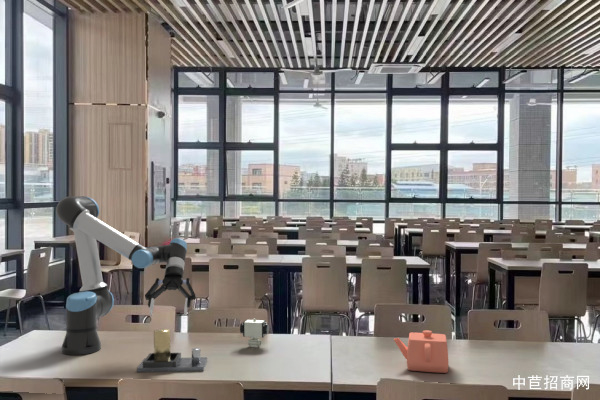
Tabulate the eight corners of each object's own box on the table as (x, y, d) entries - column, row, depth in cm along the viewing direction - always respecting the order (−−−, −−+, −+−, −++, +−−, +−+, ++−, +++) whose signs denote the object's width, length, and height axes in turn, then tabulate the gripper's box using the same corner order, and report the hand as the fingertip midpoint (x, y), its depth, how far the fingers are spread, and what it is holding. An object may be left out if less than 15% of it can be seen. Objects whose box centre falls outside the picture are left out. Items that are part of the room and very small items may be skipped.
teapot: (446, 360, 210) (447, 325, 210) (449, 379, 188) (449, 339, 188) (395, 357, 214) (395, 322, 214) (392, 374, 193) (392, 336, 193)
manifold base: (136, 372, 195) (137, 354, 195) (144, 362, 207) (144, 345, 207) (203, 371, 197) (203, 353, 197) (207, 361, 209) (207, 344, 209)
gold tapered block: (152, 365, 199) (152, 333, 198) (155, 360, 205) (155, 328, 204) (169, 364, 199) (168, 332, 199) (171, 359, 205) (171, 328, 205)
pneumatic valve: (266, 348, 226) (266, 320, 226) (239, 347, 228) (239, 319, 228) (269, 345, 231) (269, 317, 231) (243, 344, 233) (243, 316, 233)
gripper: (204, 275, 231) (200, 318, 216) (146, 275, 229) (137, 319, 215) (203, 265, 225) (198, 308, 211) (143, 265, 224) (134, 308, 209)
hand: (167, 313), depth 213 cm, fingers open, 13 cm apart
